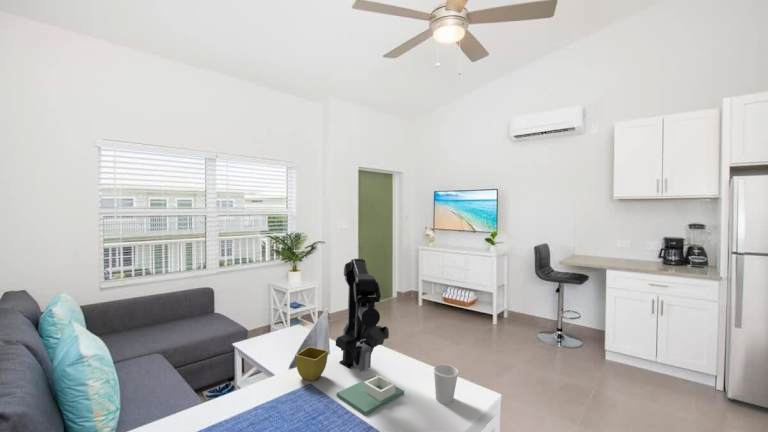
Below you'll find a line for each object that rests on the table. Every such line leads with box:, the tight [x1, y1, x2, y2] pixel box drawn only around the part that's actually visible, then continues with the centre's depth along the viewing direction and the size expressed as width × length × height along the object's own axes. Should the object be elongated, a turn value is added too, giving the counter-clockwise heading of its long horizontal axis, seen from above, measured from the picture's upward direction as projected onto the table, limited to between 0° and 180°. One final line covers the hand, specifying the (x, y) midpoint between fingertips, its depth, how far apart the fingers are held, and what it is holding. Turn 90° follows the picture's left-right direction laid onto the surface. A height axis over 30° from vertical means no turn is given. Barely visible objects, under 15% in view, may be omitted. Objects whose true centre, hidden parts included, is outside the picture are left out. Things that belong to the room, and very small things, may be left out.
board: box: [336, 375, 405, 416], centre depth 115 cm, size 14×18×4 cm
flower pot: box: [295, 346, 329, 382], centre depth 126 cm, size 9×9×9 cm
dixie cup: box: [433, 363, 460, 405], centre depth 115 cm, size 8×8×10 cm
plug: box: [352, 343, 372, 372], centre depth 114 cm, size 4×4×7 cm
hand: (362, 362), depth 114 cm, fingers closed on plug, 4 cm apart
